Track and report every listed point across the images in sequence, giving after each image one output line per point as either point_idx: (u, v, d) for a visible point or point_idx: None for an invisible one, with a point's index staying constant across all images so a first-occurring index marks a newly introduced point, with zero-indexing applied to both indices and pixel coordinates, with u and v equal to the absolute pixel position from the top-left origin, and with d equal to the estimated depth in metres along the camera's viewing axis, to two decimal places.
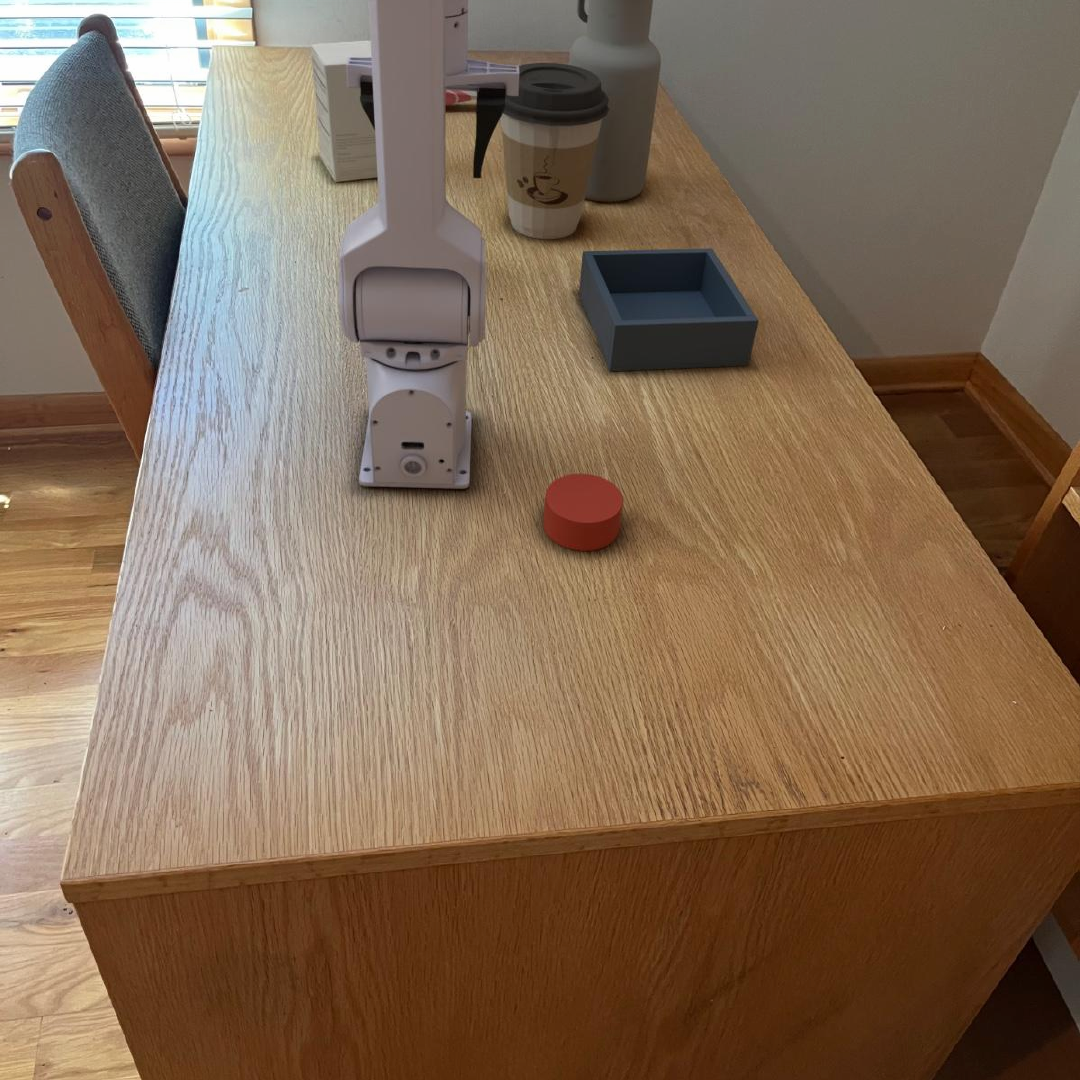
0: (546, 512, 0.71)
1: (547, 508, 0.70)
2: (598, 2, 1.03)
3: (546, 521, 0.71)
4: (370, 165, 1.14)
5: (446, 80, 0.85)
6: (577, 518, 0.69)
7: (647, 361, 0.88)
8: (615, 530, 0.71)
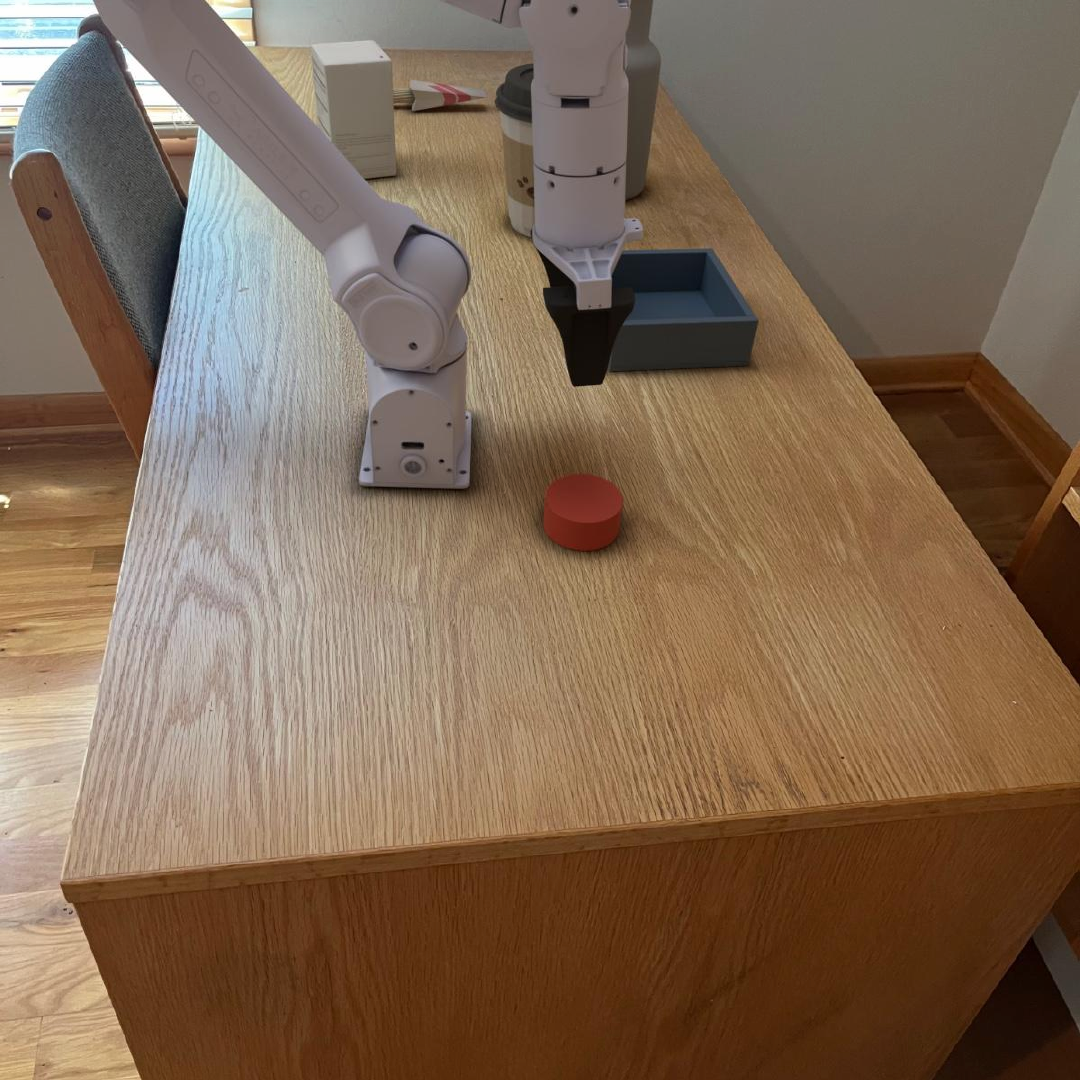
0: (546, 512, 0.71)
1: (547, 508, 0.70)
2: None
3: (546, 521, 0.71)
4: (370, 165, 1.14)
5: (537, 243, 0.65)
6: (577, 518, 0.69)
7: (647, 361, 0.88)
8: (615, 530, 0.71)
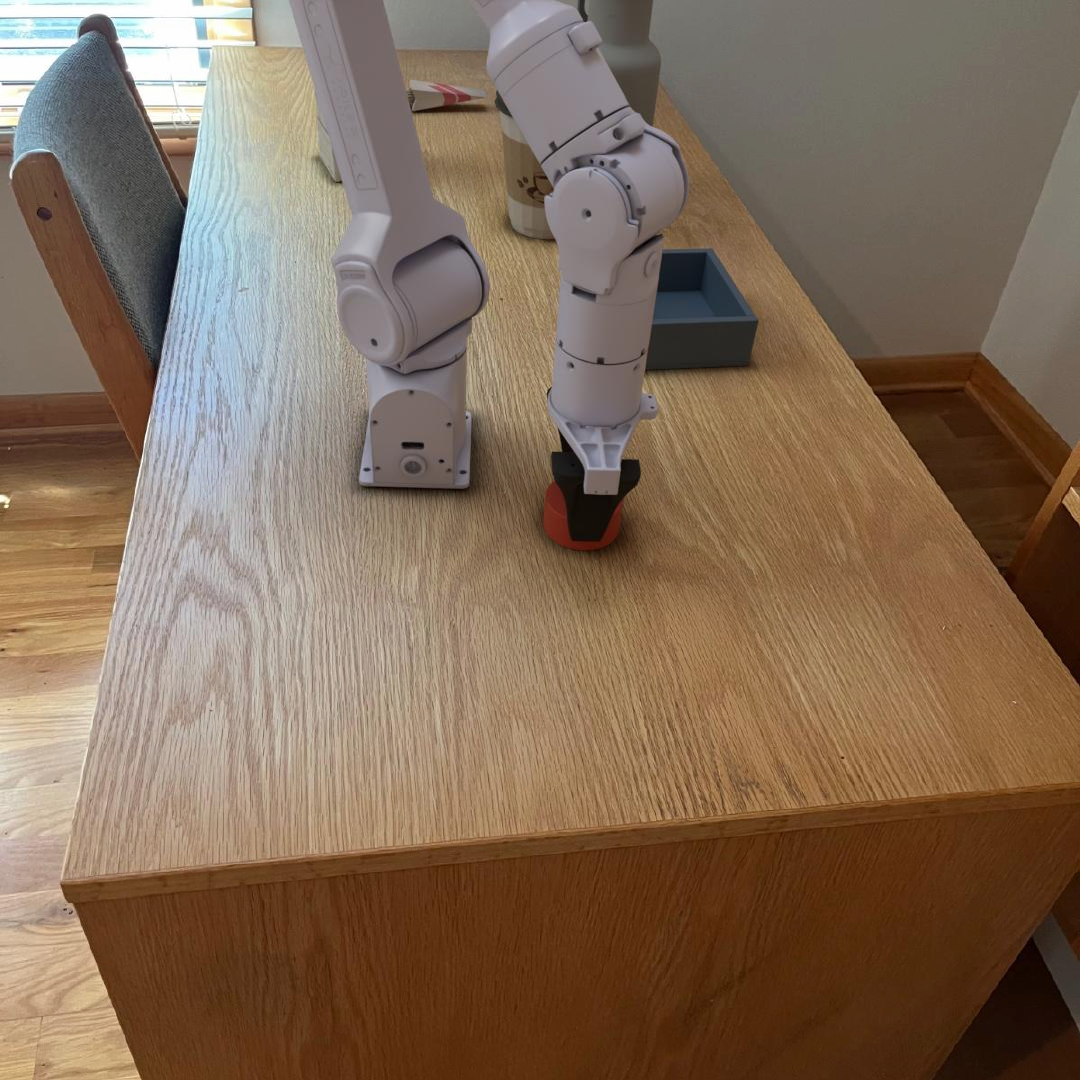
0: (546, 512, 0.71)
1: (547, 508, 0.70)
2: (598, 2, 1.03)
3: (546, 521, 0.71)
4: None
5: (551, 413, 0.65)
6: None
7: (647, 361, 0.88)
8: (615, 530, 0.71)
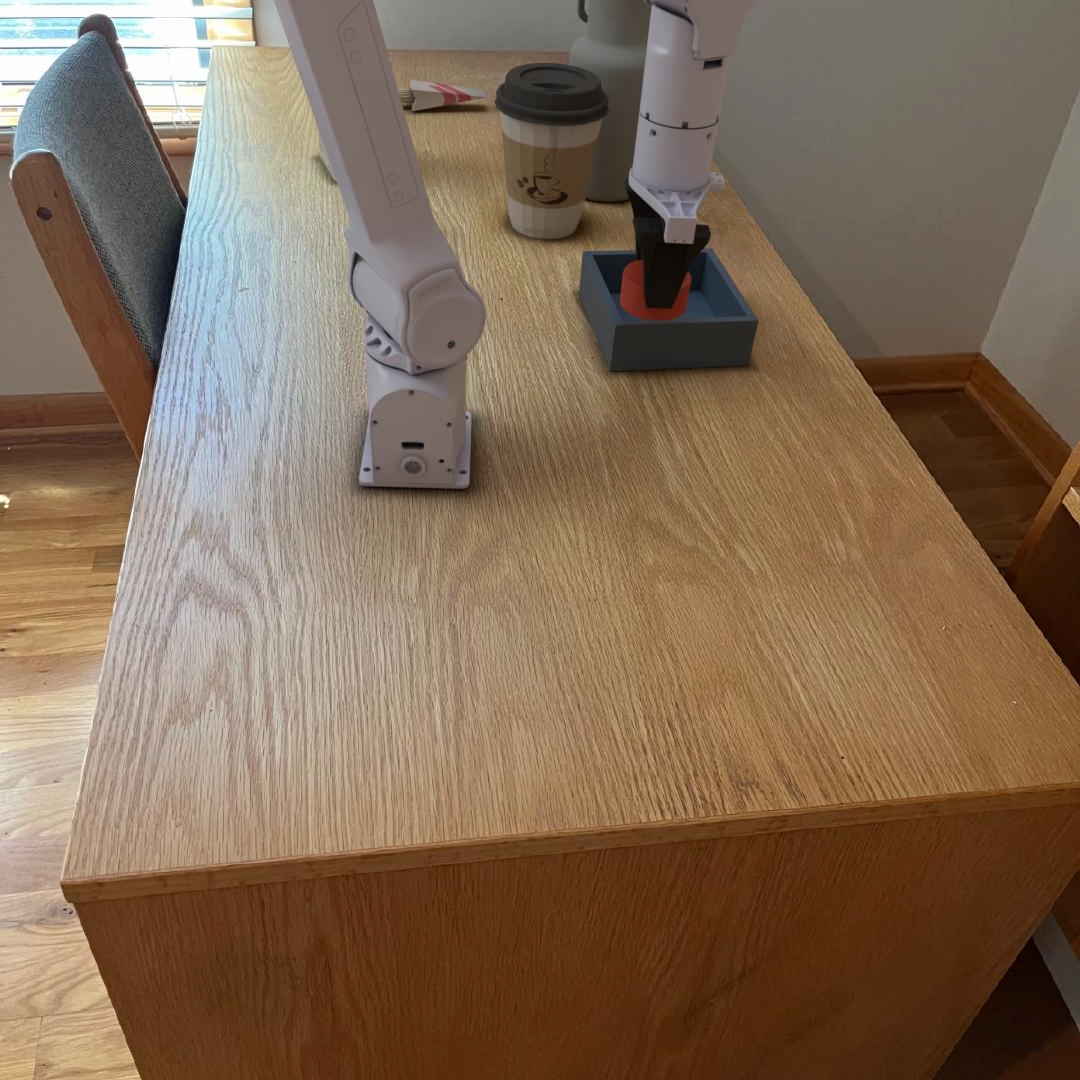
0: (624, 287, 0.81)
1: (625, 283, 0.81)
2: (598, 2, 1.03)
3: (623, 296, 0.81)
4: None
5: (633, 184, 0.75)
6: None
7: (647, 361, 0.88)
8: (684, 303, 0.81)
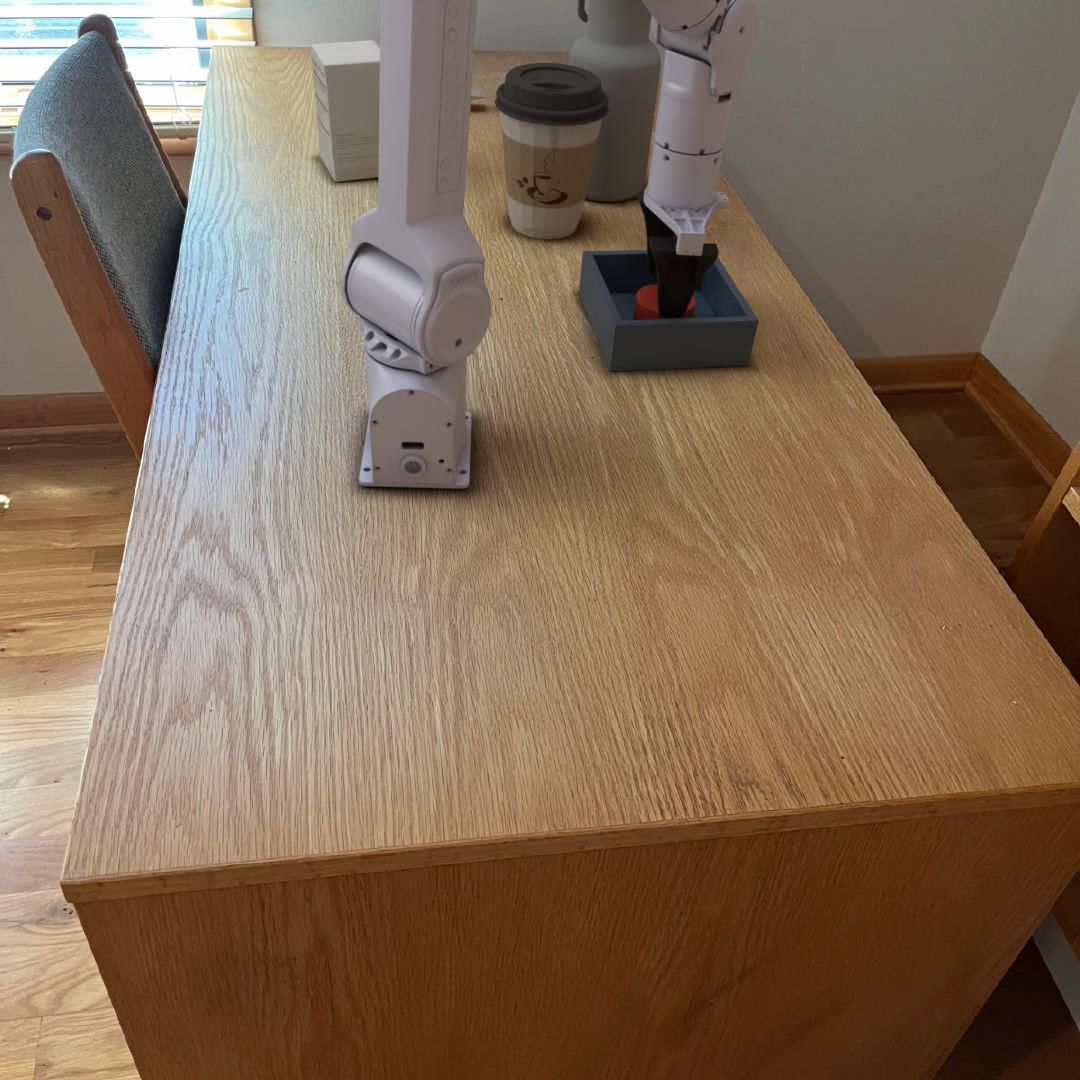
0: (637, 309, 0.92)
1: (638, 305, 0.92)
2: (598, 2, 1.03)
3: (636, 317, 0.92)
4: (370, 165, 1.14)
5: (648, 202, 0.85)
6: None
7: (647, 361, 0.88)
8: None
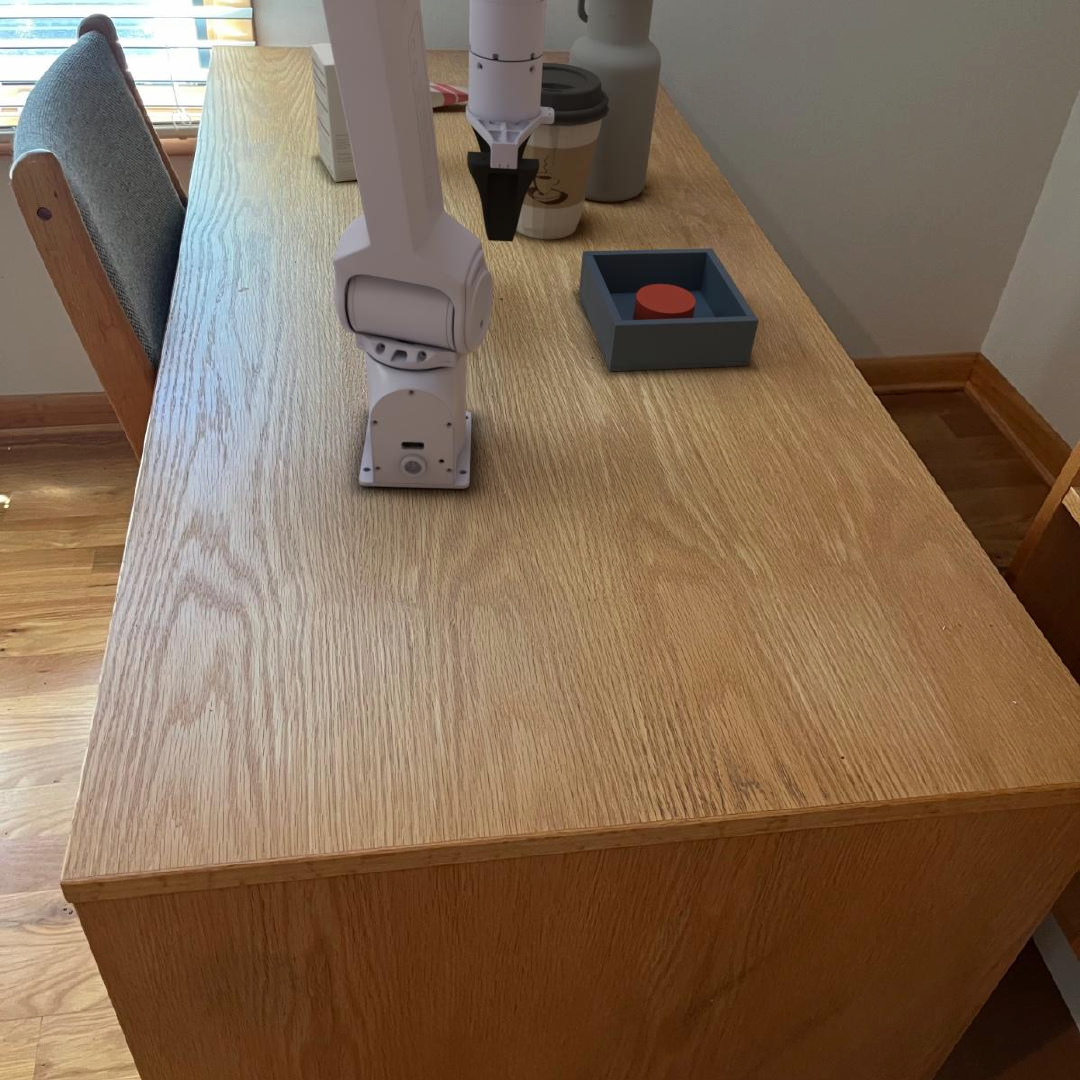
0: (637, 309, 0.92)
1: (638, 305, 0.92)
2: (598, 2, 1.03)
3: (636, 317, 0.92)
4: None
5: (468, 116, 0.81)
6: (662, 310, 0.90)
7: (647, 361, 0.88)
8: None
